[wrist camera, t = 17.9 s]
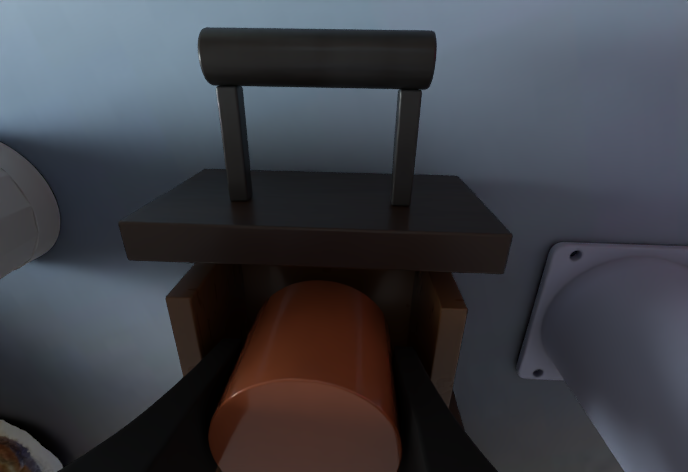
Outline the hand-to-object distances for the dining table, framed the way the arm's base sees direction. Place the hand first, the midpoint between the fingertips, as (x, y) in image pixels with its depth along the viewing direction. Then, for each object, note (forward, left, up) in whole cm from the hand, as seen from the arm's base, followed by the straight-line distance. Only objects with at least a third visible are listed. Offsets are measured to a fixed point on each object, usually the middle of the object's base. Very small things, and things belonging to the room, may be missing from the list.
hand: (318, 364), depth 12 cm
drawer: (0, -2, -5) cm, 5 cm away
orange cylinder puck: (0, 0, -1) cm, 1 cm away
